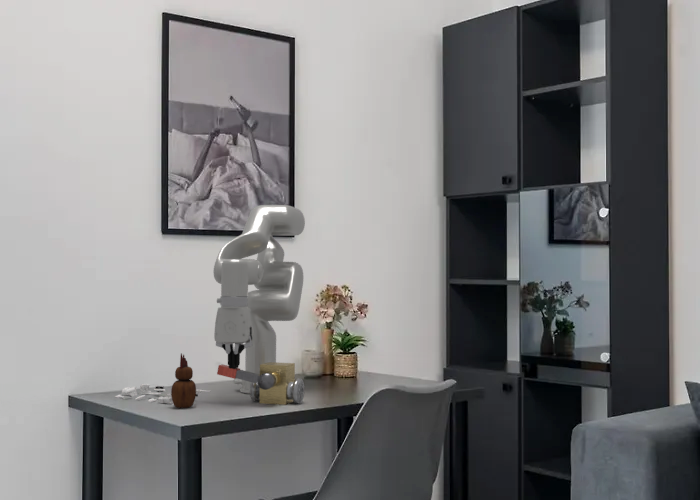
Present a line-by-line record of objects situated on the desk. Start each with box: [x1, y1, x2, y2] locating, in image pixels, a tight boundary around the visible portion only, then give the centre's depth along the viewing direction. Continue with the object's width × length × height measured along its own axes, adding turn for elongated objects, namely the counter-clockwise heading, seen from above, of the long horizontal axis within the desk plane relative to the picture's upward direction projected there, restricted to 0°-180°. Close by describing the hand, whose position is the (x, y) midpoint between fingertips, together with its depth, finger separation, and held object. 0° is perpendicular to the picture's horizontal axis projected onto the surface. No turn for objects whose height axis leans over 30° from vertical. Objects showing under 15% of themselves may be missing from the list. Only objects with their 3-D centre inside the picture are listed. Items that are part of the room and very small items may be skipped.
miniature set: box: [114, 383, 210, 405], centre depth 261 cm, size 6×35×12 cm
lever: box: [216, 364, 276, 390], centre depth 251 cm, size 4×3×17 cm
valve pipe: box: [249, 361, 305, 406], centre depth 255 cm, size 14×10×11 cm
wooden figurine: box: [170, 353, 197, 409], centre depth 246 cm, size 7×6×15 cm
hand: (233, 367), depth 252 cm, fingers closed
